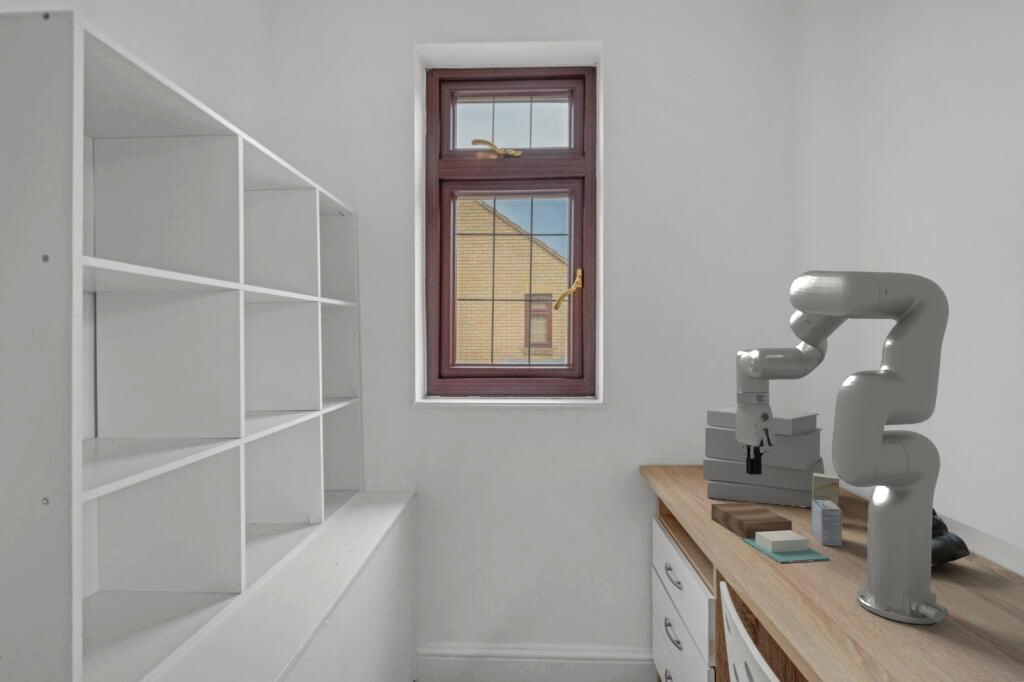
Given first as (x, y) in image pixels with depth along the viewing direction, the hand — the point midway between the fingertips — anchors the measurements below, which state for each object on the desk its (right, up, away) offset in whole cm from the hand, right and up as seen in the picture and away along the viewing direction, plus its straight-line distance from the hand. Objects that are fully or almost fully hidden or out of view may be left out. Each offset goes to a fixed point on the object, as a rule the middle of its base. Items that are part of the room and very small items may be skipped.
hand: (753, 473), depth 144 cm
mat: (+2, -15, -12) cm, 19 cm away
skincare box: (+23, -15, +9) cm, 29 cm away
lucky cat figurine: (+27, -15, -19) cm, 37 cm away
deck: (0, -14, +3) cm, 15 cm away
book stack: (+18, -15, +35) cm, 42 cm away
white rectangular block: (+2, -13, -11) cm, 17 cm away
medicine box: (+15, -15, -5) cm, 22 cm away
